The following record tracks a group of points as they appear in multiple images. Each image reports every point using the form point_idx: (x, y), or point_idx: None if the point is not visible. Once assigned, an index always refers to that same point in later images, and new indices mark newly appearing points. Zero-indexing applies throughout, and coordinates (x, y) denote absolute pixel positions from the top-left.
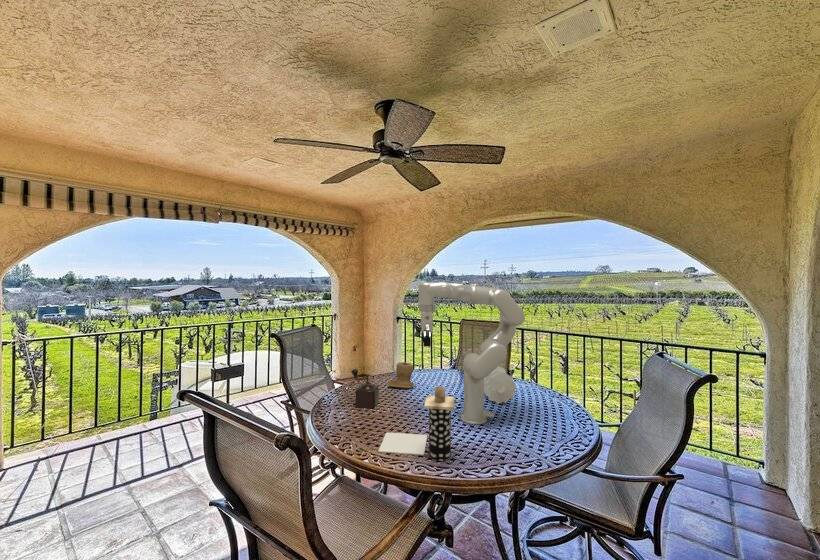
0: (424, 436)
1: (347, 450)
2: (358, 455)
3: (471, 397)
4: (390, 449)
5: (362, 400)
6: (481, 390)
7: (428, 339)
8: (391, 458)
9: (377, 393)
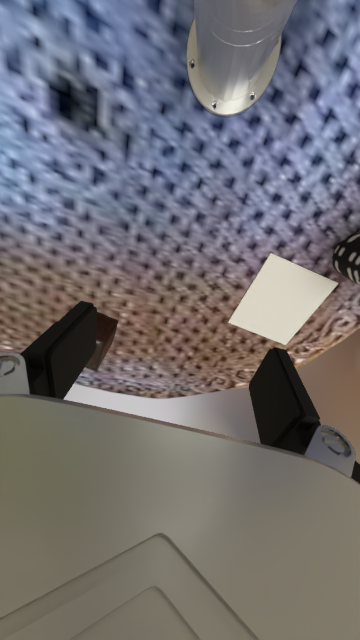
0: (274, 261)
1: None
2: None
3: (278, 37)
4: (290, 328)
5: (107, 347)
6: None
7: (315, 424)
8: (313, 331)
9: None
